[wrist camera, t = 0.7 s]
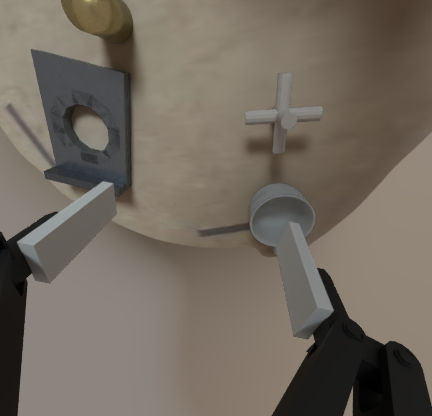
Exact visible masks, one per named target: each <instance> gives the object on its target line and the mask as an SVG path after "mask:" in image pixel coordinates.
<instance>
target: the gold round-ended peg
mask: <svg viewBox="0 0 432 416" xmlns="http://www.w3.org/2000/svg"><path fill="white" fill-rule="evenodd" d="M61 3H62V6H63V9H64V11H65V14H66V15H67V17H68V19H69V20H70V21H71V22H72V24H73V25H74V26H76V27H77V28H78V29H80V30H82V31H84V32H87V33H90V34H93V35H96V36H98V37H101V38H104V39H107V40H110V41H113V42H116V43H124V42H126V41H127V40H128V39H129V38H130V36H131V34H132V30H133V20H132V16H131V13H130V10H129V8H128V7H127V5H126V4H125V3H124V2H123V1H122V0H61Z"/></svg>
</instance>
